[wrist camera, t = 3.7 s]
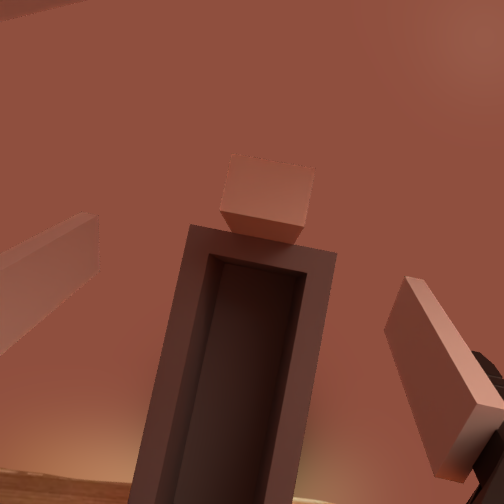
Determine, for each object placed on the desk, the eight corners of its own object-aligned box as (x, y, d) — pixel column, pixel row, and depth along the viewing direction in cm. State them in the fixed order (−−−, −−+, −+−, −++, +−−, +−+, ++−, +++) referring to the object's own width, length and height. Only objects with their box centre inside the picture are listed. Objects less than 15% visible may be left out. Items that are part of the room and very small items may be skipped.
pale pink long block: (285, 257, 39) (291, 226, 39) (304, 226, 20) (315, 168, 21) (241, 248, 39) (247, 218, 40) (219, 210, 21) (231, 153, 21)
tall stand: (263, 544, 37) (315, 264, 40) (262, 665, 25) (337, 253, 28) (153, 517, 38) (212, 243, 41) (100, 622, 26) (190, 224, 29)
